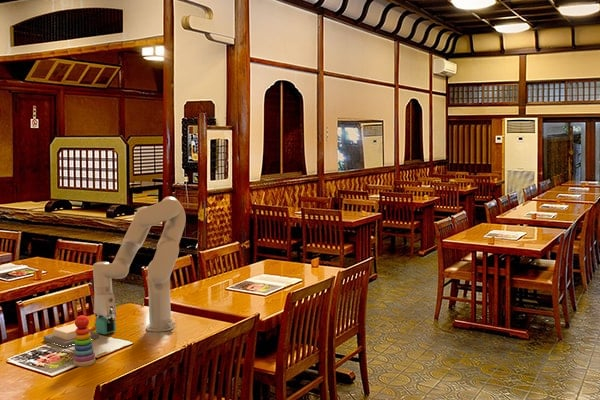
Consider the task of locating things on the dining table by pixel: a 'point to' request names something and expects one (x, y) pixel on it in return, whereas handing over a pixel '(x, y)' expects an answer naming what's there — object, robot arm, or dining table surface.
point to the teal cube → (103, 325)
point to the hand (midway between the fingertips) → (105, 329)
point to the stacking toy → (83, 343)
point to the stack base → (66, 342)
